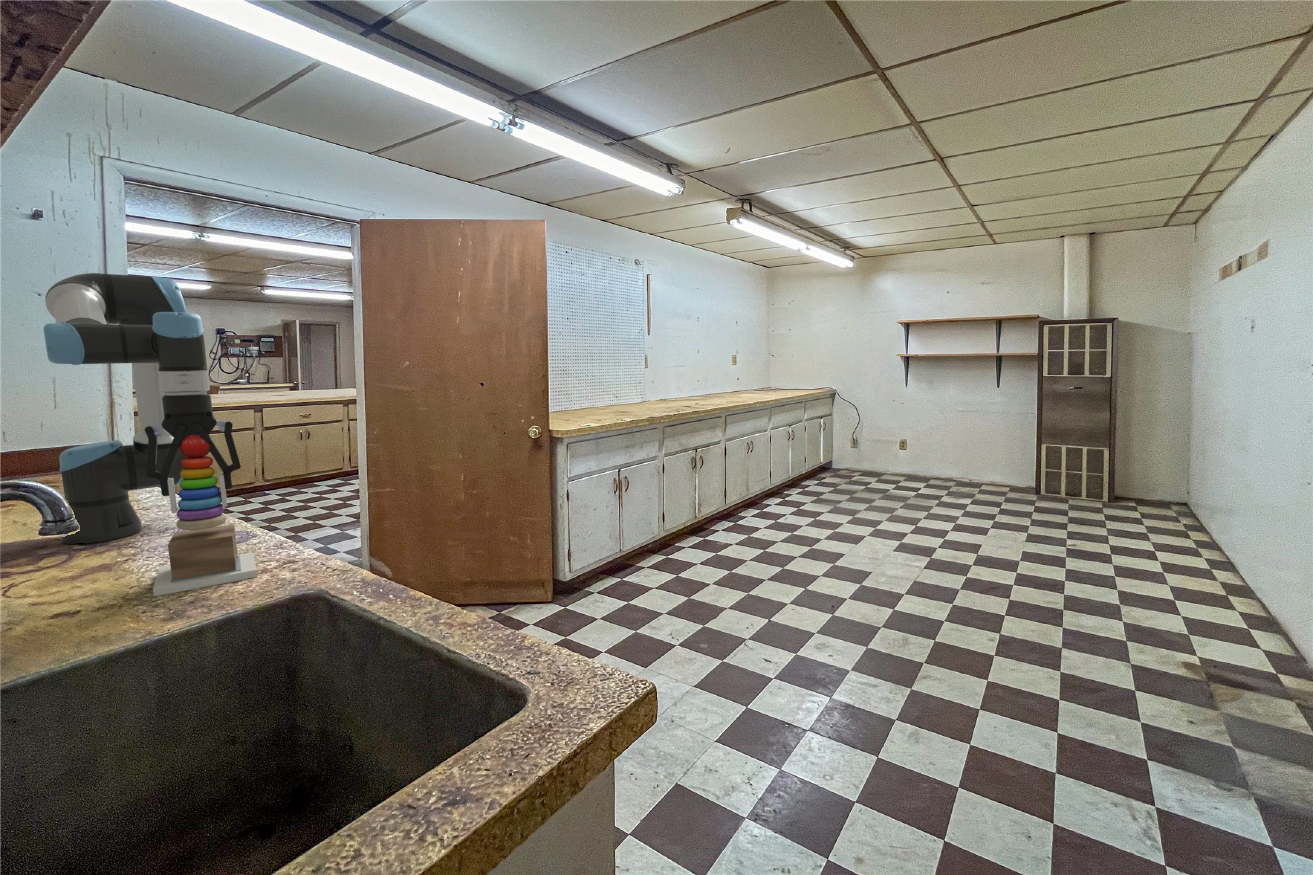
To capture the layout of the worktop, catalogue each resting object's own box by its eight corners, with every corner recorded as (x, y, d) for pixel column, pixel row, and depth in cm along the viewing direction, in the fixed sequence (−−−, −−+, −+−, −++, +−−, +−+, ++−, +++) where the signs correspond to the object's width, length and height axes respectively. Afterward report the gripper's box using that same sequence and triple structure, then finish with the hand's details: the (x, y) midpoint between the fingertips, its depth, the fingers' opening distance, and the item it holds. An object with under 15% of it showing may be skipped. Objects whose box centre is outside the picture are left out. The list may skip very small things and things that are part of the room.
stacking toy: (200, 532, 116) (189, 436, 113) (166, 530, 117) (154, 435, 115) (236, 521, 123) (226, 430, 121) (204, 519, 125) (193, 430, 122)
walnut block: (178, 565, 123) (174, 532, 122) (237, 556, 128) (234, 524, 127) (172, 580, 115) (167, 545, 114) (236, 569, 120) (232, 535, 119)
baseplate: (160, 574, 123) (158, 566, 122) (254, 558, 132) (253, 551, 132) (153, 596, 111) (152, 587, 111) (257, 576, 121) (256, 568, 120)
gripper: (114, 397, 108) (131, 521, 111) (249, 391, 119) (261, 504, 123) (119, 395, 114) (135, 512, 117) (248, 390, 125) (259, 497, 129)
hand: (200, 508), depth 120 cm, fingers closed on stacking toy, 7 cm apart
